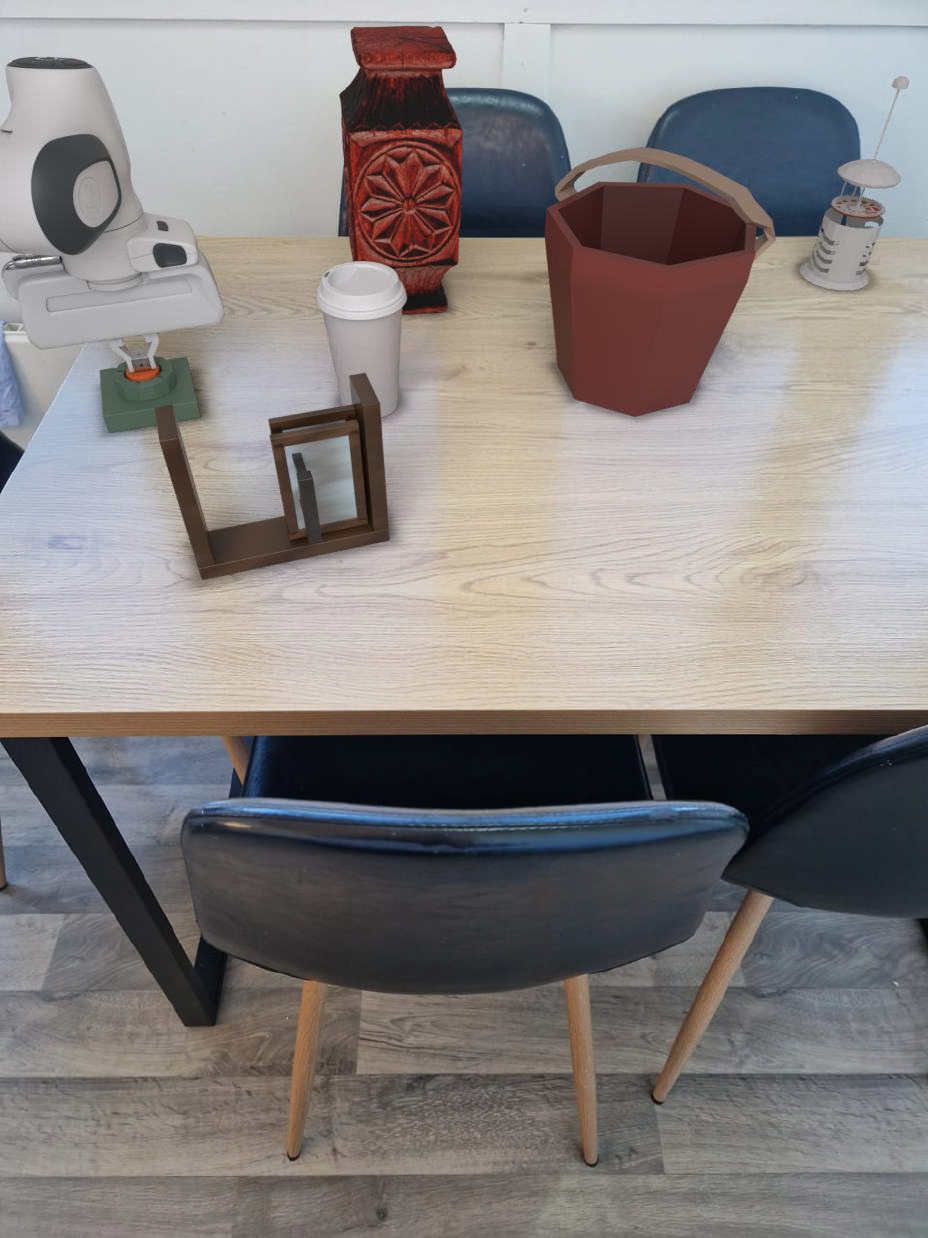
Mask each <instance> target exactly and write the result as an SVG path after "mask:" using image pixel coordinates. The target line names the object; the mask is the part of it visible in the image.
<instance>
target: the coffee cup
mask: <svg viewBox="0 0 928 1238" xmlns="http://www.w3.org/2000/svg"><path fill="white" fill-rule="evenodd" d="M406 300H407V294H406V291H405V288H404V286H403V284H402V282H401V281H400V280H399V278H398V275H397V273H396V272H395V271H394V270H393V269H392V268H390V267H388V266H386V265H383V264H380V263H375V262H367V261H357V262H353V261H349V262H344V263H340V264H337V265H334V266H332V267H330V268H329V269H327V270H326V271H325V272H324V273H323V274H322V276H321V278H320V283H319V284H318V286H317V289H316V294H315V303H316V306H317V308H319V309H320V311H321V313H322V317H323V322H324V327H325V331H326V336H327V340H328V345H329V350H330V355H331V360H332V365H333V370H334V374H335V379H336V384H337V388H338V393H339V398H340V402H341V406H346V405H351V404H352V400H351V390H350V380H349V375H354V374H361V373H366V375H367V377H368V379H369V381H370V383H371V385H372V387H373V389H374V391H375V393H376V396H377V398H378V400H379V402H380V408H381V419H383V418H386V417H387V416H389V415H391V414H393V412H395V411H396V409H397V408H398V405H399V383H400V362H401V361H400V360H401V359H400V358H401V339H402V319H403V318H402V317H403V315H402V307H403V305H404V304H405V302H406Z"/></svg>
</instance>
